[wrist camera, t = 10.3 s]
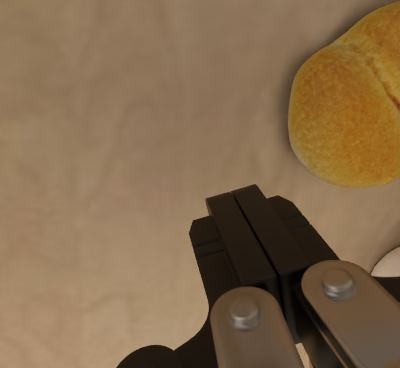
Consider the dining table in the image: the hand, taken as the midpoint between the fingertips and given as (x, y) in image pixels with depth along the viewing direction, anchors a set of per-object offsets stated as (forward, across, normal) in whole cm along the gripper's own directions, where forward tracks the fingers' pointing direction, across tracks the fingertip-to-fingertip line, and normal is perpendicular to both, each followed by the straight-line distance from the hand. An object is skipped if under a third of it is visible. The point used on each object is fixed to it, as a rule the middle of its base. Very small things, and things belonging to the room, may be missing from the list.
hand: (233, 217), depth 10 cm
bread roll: (+8, -9, +1) cm, 12 cm away
